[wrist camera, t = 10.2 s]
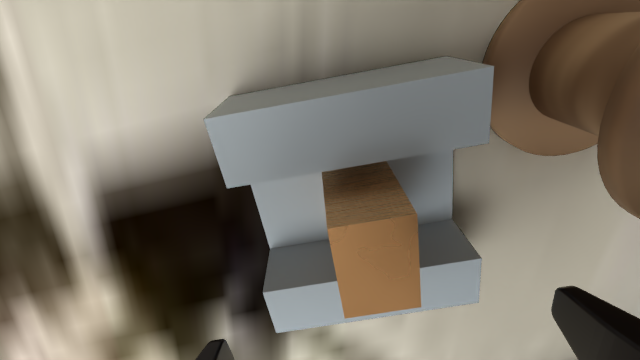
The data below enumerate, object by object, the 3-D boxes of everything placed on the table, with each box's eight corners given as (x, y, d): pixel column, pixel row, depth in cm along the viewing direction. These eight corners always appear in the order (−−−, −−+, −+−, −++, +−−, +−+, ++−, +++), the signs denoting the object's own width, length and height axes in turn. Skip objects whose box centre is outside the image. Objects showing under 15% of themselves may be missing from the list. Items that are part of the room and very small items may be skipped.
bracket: (446, 250, 19) (478, 302, 15) (282, 275, 19) (276, 333, 16) (446, 55, 14) (494, 66, 11) (229, 96, 15) (203, 119, 11)
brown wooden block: (385, 217, 17) (421, 307, 11) (332, 225, 17) (344, 318, 12) (378, 147, 15) (417, 214, 10) (320, 157, 15) (327, 228, 10)
